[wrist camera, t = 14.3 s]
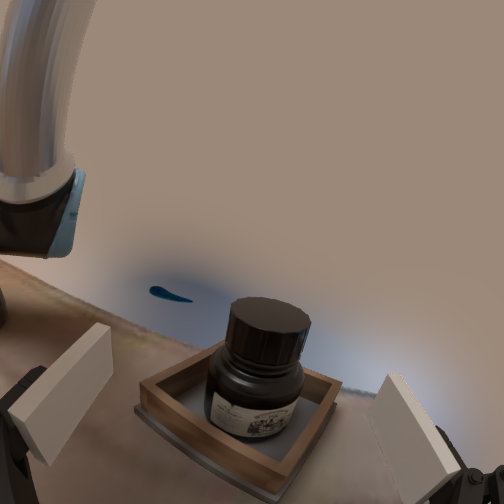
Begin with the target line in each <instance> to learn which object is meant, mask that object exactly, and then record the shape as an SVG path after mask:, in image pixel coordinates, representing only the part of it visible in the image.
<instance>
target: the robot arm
mask: <svg viewBox="0 0 504 504" xmlns="http://www.w3.org/2000/svg"><path fill="white" fill-rule="evenodd" d="M96 2H97V0H10V1H9V5H8V8H7V12H6V15H5V19H4V24H3V28H2V33H1V38H0V254H1V255H13V256H24V257H36V258H43V259H48V258H62V257H66V256H67V255H68V254H69V253H70V252H71V250H72V246H73V240H74V233H75V227H76V220H77V215H78V209H79V205H80V200H81V195H82V190H83V185H84V181H85V176H86V175H85V172H84V171H82V170H79V169H78V168H75V169H74V166H75V164H74V156H73V153H72V151H71V150H70V149H69V148H68V147H67V146H66V145H65V144H64V138H65V129H66V120H67V113H68V106H69V100H70V94H71V89H72V83H73V79H74V74H75V70H76V66H77V62H78V58H79V54H80V50H81V47H82V43H83V40H84V37H85V33H86V30H87V27H88V24H89V21H90V19H91V16H92V13H93V10H94V8H95V5H96ZM6 317H7V310H6V303H5V299H4V296H3V293H2V291H1V288H0V327H1V326H2V325H3V323H4V322H5V320H6ZM113 373H114V369H113V357H112V342H111V327H109V326H106V325H103V324H101V323H98V322H97V323H96V324H94V325H93V326H92V327H91V328H90V329H89V330H88V331H87V332H86V333H85V334H84V335H83V336H81V337H80V338H79V339H78V340H77V341H76V342H75V343H74V344H73V345H72V346H71V347H70V348H69V349H68V350H67V351H66V352H64V353H63V354H62V355H61V356H60V357H59V358H58V359H57V360H56V361H55V362H54V363H53V364H52V365H51V366H50V367H49V368H48V369H47V368H45V367H44V366H42V365H41V366H38V367H36V368H34V369H31V370H30V371H29V372H28V373H27V374H26V375H25V376H24V378H22V379H21V380H20V381H19V382H18V384H16V385H15V386H13V387H12V388H11V389H10V390H9V391H8V392H7V393H6V394H5V395H4V396H3V397H2V398H1V399H0V504H39V501H38V498H37V495H36V491H35V488H34V484H33V480H32V476H31V472H30V467H29V462H28V458H27V455H26V453H27V452H28V450H30V451H31V453H32V455H33V456H34V458H36V459H37V460H39V461H41V462H42V463H44V464H45V465H47V466H49V467H51V466H52V464H53V462H54V461H55V459H56V458H57V456H58V454H59V453H60V451H61V450H62V448H63V447H64V445H65V444H66V442H67V440H68V439H69V437H70V436H71V434H72V433H73V431H74V430H75V428H76V427H77V425H78V424H79V422H80V421H81V419H82V418H83V416H84V415H85V413H86V412H87V411H88V409H89V408H90V406H91V405H92V403H93V402H94V400H95V399H96V397H97V396H98V395H99V393H100V392H101V390H102V389H103V387H104V386H105V385H106V383H107V382H108V380H109V379H110V378H111V376H112V375H113ZM366 415H367V417H368V419H369V421H370V424H371V426H372V428H373V431H374V433H375V435H376V438H377V440H378V442H379V445H380V447H381V450H382V452H383V454H384V457H385V459H386V462H387V464H388V467H389V469H390V472H391V474H392V477H393V479H394V482H395V484H396V487H397V489H398V492H399V494H400V497H401V500H402V502H403V504H423V503H424V502H425V501H426V500H428V499H429V501H430V503H429V504H488V503H489V502H490V501H491V504H504V465H500V466H499V467H497V469H496V470H495V471H494V472H493V473H489V474H483V473H482V472H481V471H480V470H478V469H476V468H470V469H468V468H467V467H466V465H465V464H464V462H463V460H462V459H461V457H460V456H459V454H458V452H457V451H456V449H455V448H454V447H453V445H452V443H451V441H449V438H448V437H447V435H446V434H445V432H444V431H443V430H442V429H440V428H439V427H438V426H434V424H433V423H432V421H431V420H430V418H429V416H428V415H427V414H426V412H425V410H424V409H423V408H422V406H421V404H420V403H419V401H418V400H417V398H416V397H415V395H414V394H413V393H412V391H411V390H410V388H409V387H408V385H407V384H406V382H405V381H404V379H403V378H402V377H401V375H400V374H388V375H387V376H386V378H385V380H384V382H383V384H382V386H381V388H380V390H379V392H378V393H377V395H376V397H375V399H374V400H373V402H372V404H371V406H370V407H369V409H368V411H367V412H366Z"/></svg>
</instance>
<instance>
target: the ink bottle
mask: <svg viewBox="0 0 504 504" xmlns="http://www.w3.org/2000/svg"><path fill="white" fill-rule="evenodd" d="M310 325H311V321H310V319H309V316H308V315H307V314H305V313H304V312H303V311H302V310H301V309H299V308H297V307H295V306H293V305H291V304H289V303H285V302H282V301H279V300H275V299H269V298H264V297H247V298H241V299H237V300H236V301H235V302H234V303H232V304H231V309H230V314H229V320H228V326H227V331H226V337H225V344H223V345H222V346H220V347H219V348H217V349H216V350H215V351H214V353H213V354H212V356H211V358H210V362H209V367H208V374H207V382H206V389H205V396H204V413H205V416H206V418H207V420H208V421H209V423H210V424H211V425H213V426H214V427H216V428H218V429H219V430H221V431H222V432H224V433H226V434H227V435H229V436H231V437H233V438H234V439H236V440H239V441H247V442H256V441H264V440H268V439H271V438H273V437H275V436H277V435H279V434H280V433H281V432H283V431H284V429H285V428H286V427H287V425H288V423H289V420H290V418H291V416H292V413H293V411H294V408H295V406H296V403H297V401H298V398H299V396H300V393H301V390H302V388H303V385H304V380H305V375H304V370H303V368H302V366H301V364H300V362H299V360H300V357H301V352H302V351H303V348H304V345H305V342H306V339H307V335H308V332H309V329H310Z"/></svg>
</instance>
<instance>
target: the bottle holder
mask: <svg viewBox="0 0 504 504" xmlns="http://www.w3.org/2000/svg"><path fill="white" fill-rule="evenodd" d="M223 344H225V340H223V341H221V342H219V343H217V344H216V345H213V346H211V347H210V348H208V349H206V350H204V351H202V352H200V353H198V354H196V355H194V356H192V357H190V358H188V359H186V360H184V361H183V362H181V363H179V364H177V365H175V366H173V367H170V368H168V369H166V370H164V371H162V372H160V373H158V374H156V375H154V376H152V377H150V378H148V379H146V380H143V381H141V382H139V383H140V400H141V403H140V404H138V405H136V406H134V410H135V413H136V414H137V415H138V416H139V417H140V418H141V419H142V420H143V421H145V422H146V423H147V424H148V425H149V426H150V427H151V428H153V429H154V430H155V431H156V432H157V433H159V434H160V435H161V436H162V437H164V438H165V439H166V440H167V441H169V442H170V443H171V444H172V445H174V446H175V447H176V448H178V449H179V450H180V451H182V452H183V453H184V454H186V455H187V456H189V457H190V458H191V459H193V460H194V461H196V462H197V463H199V464H200V465H202V466H203V467H205V468H206V469H208V470H209V471H211V472H212V473H214V474H216V475H217V476H219V477H220V478H222V479H224V480H225V481H227V482H229V483H230V484H232V485H234V486H236V487H237V488H239V489H241V490H243V491H245V492H247V493H249V494H250V495H252V496H254V497H256V498H258V499H260V500H262V501H264V502H266V503H269V504H276V503H277V501H278V500H279V499H280V497H281V496H282V494H283V493H284V492H285V490H286V489H287V487H288V486H289V485H290V483H291V482H292V480H293V479H294V477H295V476H296V474H297V473H298V471H299V470H300V468H301V467H302V465H303V464H304V462H305V460H306V459H307V457H308V456H309V454H310V452H311V451H312V449H313V447H314V446H315V444H316V442H317V441H318V439H319V437H320V435H321V434H322V432H323V430H324V428H325V426H326V424H327V423H328V421H329V419H330V417H331V415H332V413H333V411H334V409H335V407H336V405H337V403H335V402H334V400H335V398H336V396H337V394H338V392H339V390H340V387H341V385H342V382H340V381H337V380H335V379H332V378H329V377H327V376H325V375H322V374H319V373H317V372H314V371H312V370H309V369H307V368H305V367H302V368H303V370H304V375H305V380H304V385H303V388H302V390H301V393H300V396H299V398H298V401H297V403H296V406H295V408H294V411H293V413H292V416H291V418H290V420H289V423H288V425H287V427H286V428H285V429H284V431H283V432H281V433H280V434H279V435H277V436H275V437H273V438H271V439H268V440H264V441H256V442H247V441H239V440H236V439H234V438H233V437H231V436H229V435H227V434H226V433H224V432H222V431H221V430H219V429H218V428H216V427H214V426H213V425H211V424H210V423H209V421H208V420H207V418H206V416H205V413H204V396H205V389H206V382H207V374H208V367H209V362H210V358H211V356H212V354H213V353H214V351H215V350H216V349H217V348H219V347H220V346H222V345H223Z"/></svg>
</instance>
